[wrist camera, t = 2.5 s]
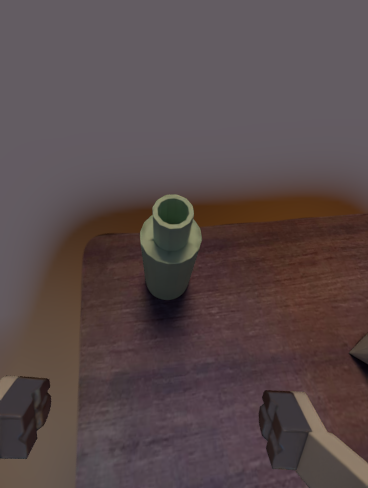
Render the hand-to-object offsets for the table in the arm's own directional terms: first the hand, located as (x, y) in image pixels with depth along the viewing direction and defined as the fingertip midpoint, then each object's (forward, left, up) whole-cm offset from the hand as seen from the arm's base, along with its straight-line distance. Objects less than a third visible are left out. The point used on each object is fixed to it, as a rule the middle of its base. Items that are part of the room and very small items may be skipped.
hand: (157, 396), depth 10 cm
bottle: (+2, +12, -22) cm, 25 cm away
